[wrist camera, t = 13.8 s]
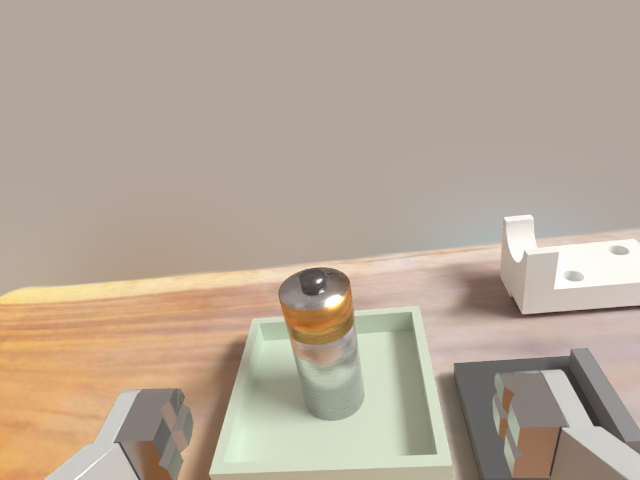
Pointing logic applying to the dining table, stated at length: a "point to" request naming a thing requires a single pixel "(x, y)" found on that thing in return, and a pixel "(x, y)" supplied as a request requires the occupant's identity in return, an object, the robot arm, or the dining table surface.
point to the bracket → (567, 271)
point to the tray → (343, 435)
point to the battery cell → (324, 341)
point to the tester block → (578, 368)
